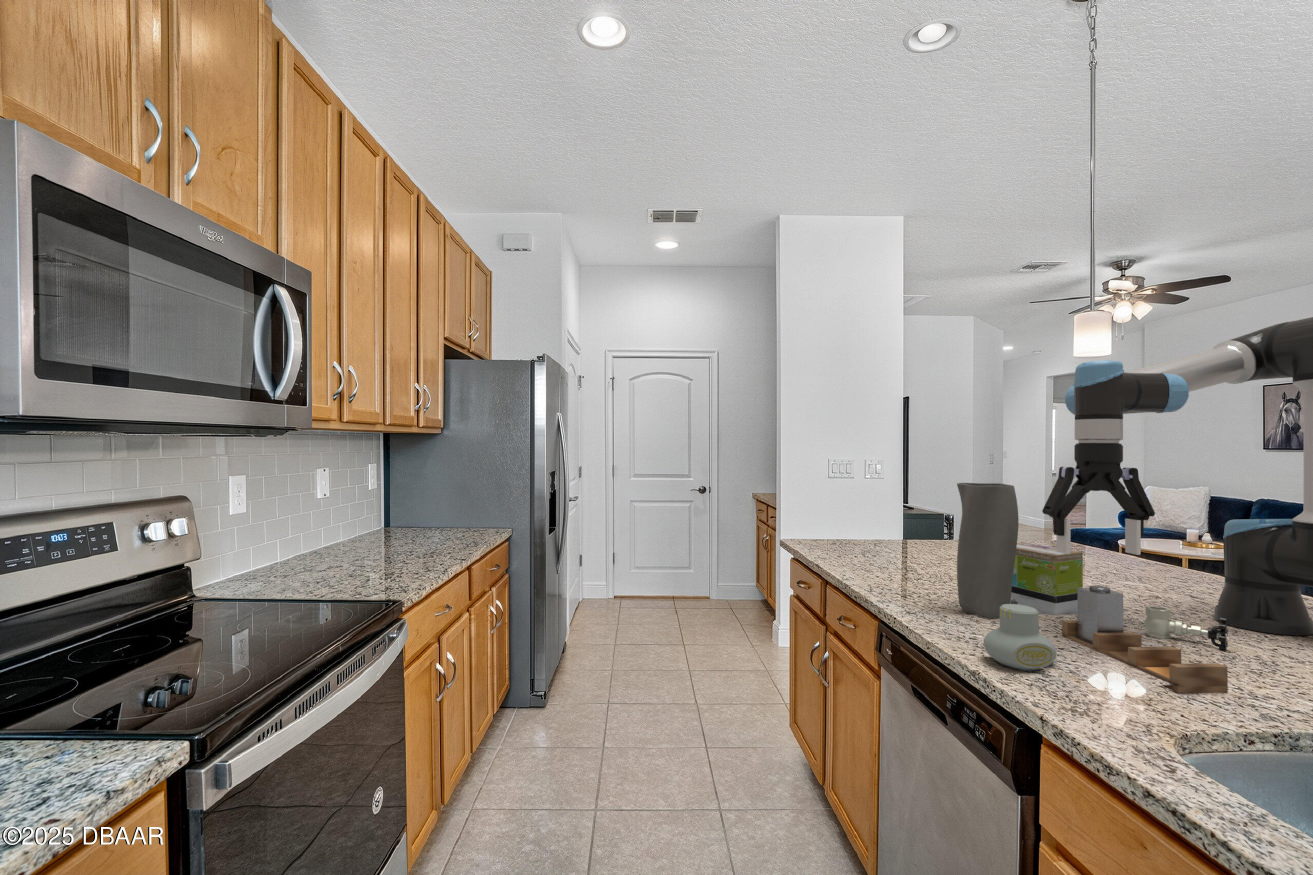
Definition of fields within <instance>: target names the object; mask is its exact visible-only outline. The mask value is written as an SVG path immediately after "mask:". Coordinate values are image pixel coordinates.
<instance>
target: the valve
mask: <svg viewBox="0 0 1313 875" xmlns="http://www.w3.org/2000/svg"><path fill="white" fill-rule="evenodd" d="M1171 612H1172V611H1171V610H1170V609H1169V608H1166V607H1163V606H1156V605H1147V606H1146V607H1145V615H1146V617H1145V619H1144V627H1145V629H1146V631H1145V634H1146V635H1147V636H1149V637H1151V638H1154V639H1155V638H1156V639H1161V640H1167V639H1172V636H1171V634H1174V635H1175V636H1176V637H1180V638H1181V637H1184V635H1188V634H1191V636H1193V637H1199V638H1200V637H1201V636H1207V638H1208V639H1209V640H1210V642H1211V644H1212V645H1213V646H1215V647H1217V648H1218V650H1219V651H1224V652H1228V647H1229V642H1228V636H1229V631H1228V628H1227V627H1228V626H1229V625H1228V622H1227V619H1226V618H1219V621H1220V622H1219V621H1218V622H1219V623H1218V625H1214V626H1212V627H1208V628H1207V629H1202V627H1201V626H1197V625H1191V627H1190V626H1188V625H1187V624H1185V623H1184V621H1183V620H1178V619H1176V620H1175V621H1173V620H1170V619H1171V617H1172V616H1171ZM1216 641H1218V642H1220V643H1217V642H1216Z"/></svg>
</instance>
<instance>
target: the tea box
mask: <svg viewBox="0 0 1313 875" xmlns="http://www.w3.org/2000/svg"><path fill="white" fill-rule="evenodd" d="M1083 559H1084V558H1083V552H1082V551H1078V550H1077V551H1076V550H1071V549H1070V554H1064V553H1060V552H1057V547H1054V546H1047V545H1041V544H1035V543H1029V542H1023V541H1022V542H1021V541H1020V542H1017V547H1016V555H1015V563H1014V571H1013V580H1012V590H1011V601H1010V604H1018V605H1025V606H1029V607H1033V608H1035V609H1036V610H1037V611H1038V615H1054V616H1059V615H1078V595H1077V588H1084V587H1083V586H1084V585H1083V584H1084V582H1083V581H1084V580H1083V579H1084V577H1083V576H1084V575H1083V574H1084V572H1083V571H1084V568H1083V567H1084V566H1083V565H1084V564H1083V562H1084V560H1083Z"/></svg>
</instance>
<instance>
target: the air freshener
mask: <svg viewBox="0 0 1313 875" xmlns="http://www.w3.org/2000/svg"><path fill="white" fill-rule="evenodd" d="M1039 619H1040V618H1039V614H1038V611H1037V610H1036V609H1035V608H1033V607H1029V606H1025V605H1018V604H1004V605H1002V606H1000V618H999V627H997V628H994V629H992V630H990V631H989V632H988V633H987V634H986V635H985V637H984V638H983V647H984V650H985V651H986V653H987V654H988V656H990V657H991V658H992V659H993V660H995V661H996V662H998V663H999V664H1001V665H1003V666H1005V667H1009V668H1012V669H1016V670H1019V671H1023V672H1024V671H1025V672H1034V671H1038V670H1041V669H1043V668H1047V667H1049V666H1051V665H1052V664H1053V663H1054V662H1055V660H1056V657H1057V650H1056V647H1055V645H1054V644H1053V642H1052V641H1051V640H1050V639H1049V638H1047V637H1046V636H1044V635H1043V634H1041V633H1040V628H1039V627H1040V624H1039Z"/></svg>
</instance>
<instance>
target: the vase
mask: <svg viewBox="0 0 1313 875" xmlns="http://www.w3.org/2000/svg"><path fill="white" fill-rule="evenodd" d="M956 486H957V489H958V493H959V496H960V502H961V521H960V528H959V532H958V533H959V536H958V543H957V553H956V555H957V556H956V581H957V582H956V583H957V595H958V603H959V607H960V608H961V610H962V611H963V612H965V613H967V614H969V615H972V616H973V615H974V616H978V617H982V618H985V619H993V620H994V619H995V620H998V619H999V620H1000V606H1002V605H1004V604H1010V601H1011V590H1012V580H1013V571H1014V563H1015V555H1016V547H1017V543H1018V539H1019V538H1018V536H1019V506H1018V500H1017V494H1016V489H1015V486H1014V485H1012V484H1006V483H999V482H997V483H995V482H994V483H993V482H992V483H991V482H990V483H987V482H986V483H981V482H980V483H977V482H957V483H956Z"/></svg>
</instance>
